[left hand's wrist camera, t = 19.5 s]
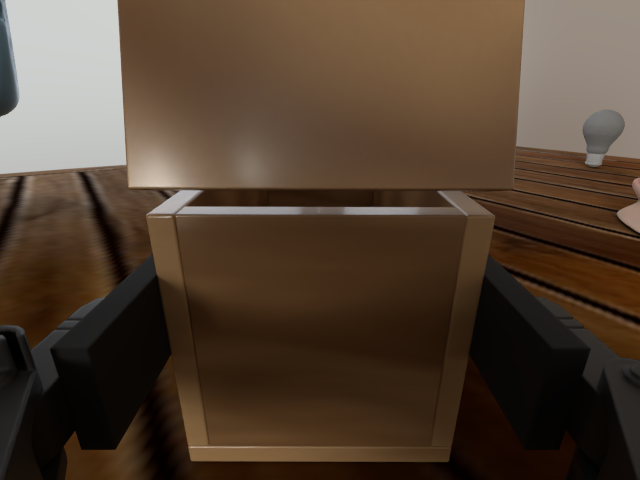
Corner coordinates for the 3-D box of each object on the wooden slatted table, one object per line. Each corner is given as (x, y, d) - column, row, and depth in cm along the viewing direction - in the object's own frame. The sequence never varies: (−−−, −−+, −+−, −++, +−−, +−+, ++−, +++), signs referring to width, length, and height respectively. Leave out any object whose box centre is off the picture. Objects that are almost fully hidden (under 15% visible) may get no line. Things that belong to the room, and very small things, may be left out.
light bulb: (581, 168, 67) (596, 110, 63) (568, 163, 72) (581, 109, 69) (619, 169, 66) (636, 110, 62) (602, 164, 71) (617, 109, 68)
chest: (262, 257, 29) (254, 137, 26) (378, 257, 29) (386, 137, 26) (190, 462, 13) (143, 214, 10) (449, 463, 13) (496, 215, 10)
